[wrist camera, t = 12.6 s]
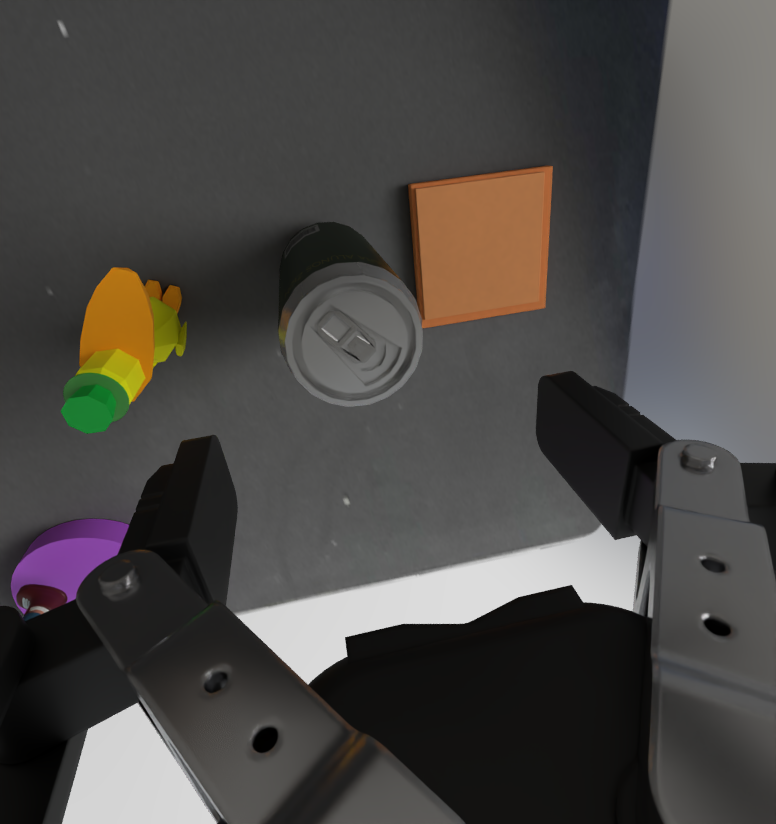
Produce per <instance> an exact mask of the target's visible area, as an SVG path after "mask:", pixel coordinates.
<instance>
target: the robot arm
mask: <svg viewBox="0 0 776 824" xmlns="http://www.w3.org/2000/svg"><path fill="white" fill-rule="evenodd" d="M536 436H537V441H538V444H539V447H540V449H541V451H542V452H543V454H544V455H545V456H546V457H547V459H548V460H549V461H550V462H551V463H552V465H553V466H554V467H555V468H556V470H557V471H558V472H559V473H560V474H561V476H562V477H563V478H564V479H565V480H566V482H567V483H568V484H569V485H570V486H571V488H572V489H573V490H574V491H575V492H576V494H577V495H578V496H579V497H580V498H581V500H582V501H583V502H584V503H585V504H586V506H587V507H588V508H589V509H590V510H591V512H592V513H593V514H594V515H595V516H596V518H597V519H598V520H599V521H600V522H601V524H602V525H603V526H604V527H605V528H606V530H607V531H608V532H609V533H610V534H611V536H612V537H613V538H614V539H615V540H617V539H621V538H626V537H630V536H634V535H637V536H638V537H639V538H640V539H641V542H640V547H639V552H638V562H637V573H636V583H635V594H634V604H633V612H632V611H629V610H626V609H622V608H619V607H614V606H610V605H604V604H596V603H583V602H582V600H581V599H580V597H579V596H578V594H577V592H576V591H575V589H574V588H573V586H572V585H570V586H566V587H561V588H557V589H553V590H548V591H544V592H539V593H535V594H531V595H526V596H522V597H518V598H516V599H514V600H512V601H510V602H508V603H506V604H504V605H502V606H500V607H499V608H497V609H495V610H493V611H491V612H489V613H487V614H485V615H483V616H481V617H479V618H477V619H475V620H474V621H471V622H469V623H465V624H401V625H397V626H393V627H388V628H384V629H379V630H375V631H371V632H367V633H362V634H358V635H354V636H349V637H345V640H346V648H347V656H348V657H346V658H344V659H342V660H340V661H338V662H337V663H335V664H333V665H332V666H330V667H329V668H328V669H326V670H324V671H323V672H322V673H321V674H320V675H318V676H317V677H316V678H315V679H314V680H312V682H310V684H309V685H307V684H306V683H305V682H304V681H303V680H302V679H301V678H300V677H299V676H298V675H297V674H296V673H295V672H294V671H293V670H292V669H291V668H290V667H289V666H288V665H287V664H286V663H285V662H283V661H282V660H281V659H280V658H279V657H278V656H277V655H276V654H275V653H274V652H273V651H272V650H271V649H270V648H269V647H268V646H267V645H266V644H265V643H263V641H262V640H261V639H259V638H258V637H257V636H256V635H255V634H254V633H253V632H252V631H251V630H250V629H249V628H248V627H247V626H246V625H245V624H244V623H243V622H242V621H241V620H240V619H238V617H237V616H236V615H235V614H233V613H232V612H231V611H230V610H229V609H228V608H227V607H226V600H227V592H228V584H229V576H230V568H231V560H232V552H233V544H234V537H235V529H236V521H237V512H238V507H237V497H236V492H235V488H234V485H233V482H232V479H231V475H230V472H229V469H228V466H227V463H226V460H225V457H224V454H223V451H222V448H221V445H220V442H219V440H218V438H217V436H215V435H211V436H206V437H200V438H195V439H189V440H184V441H182V442H181V444H180V447H179V449H178V452H177V455H176V458H175V461H174V464H168V465H163V466H161V467H160V468H159V469H158V470H157V471H156V472H155V473H154V474H153V475H152V476H151V477H150V478H149V480H148V481H147V483H146V485H145V487H144V490H143V492H142V495H141V499H140V500H139V502H138V505H137V507H136V512H135V513H134V515H133V517H132V520H131V522H130V525H129V527H128V530H127V532H126V535H125V537H124V539H123V542H122V544H121V547H120V549H119V552H118V554H117V555H116V556H114V557H112V558H110V559H108V560H106V561H104V562H103V563H101V564H100V565H98V566H97V567H96V568H95V569H93V570H92V571H91V572H90V573H89V574H88V575H87V576H86V577H85V579H84V580H83V581H82V583H81V584H80V586H79V588H78V590H77V593H76V599H74V600H72V601H70V602H68V603H66V604H64V605H61V606H59V607H57V608H54V609H52V610H50V611H47V612H45V613H43V614H40V615H38V616H36V617H34V618H31V619H29V620H27V621H24V619H23V618H22V617H21V615H20V614H19V612H18V611H17V610H16V609H14V608H12V607H9V606H0V824H62V821H63V817H64V813H65V810H66V806H67V803H68V799H69V796H70V792H71V788H72V785H73V781H74V778H75V774H76V770H77V767H78V763H79V759H80V756H81V751H82V748H83V745H84V741H85V738H86V734H87V730H88V728H91V727H92V726H94V725H96V724H98V723H100V722H102V721H104V720H106V719H107V718H109V717H111V716H113V715H115V714H117V713H119V712H121V711H122V710H124V709H126V708H128V707H130V706H132V705H134V704H136V703H138V704H139V706H140V707H141V709H142V710H143V712H144V713H145V715H146V716H147V718H148V719H149V721H150V722H151V724H152V725H153V727H154V728H155V730H156V731H157V733H158V734H159V736H160V737H161V739H162V740H163V742H164V743H165V745H166V746H167V748H168V749H169V751H170V752H171V754H172V755H173V757H174V758H175V760H176V761H177V763H178V764H179V766H180V767H181V769H182V770H183V772H184V773H185V775H186V777H187V778H188V780H189V781H190V783H191V784H192V786H193V787H194V789H195V791H196V792H197V794H198V795H199V797H200V798H201V800H202V801H203V803H204V805H205V806H206V808H207V809H208V811H209V812H210V814H211V815H212V817H213V818H214V820H215V821H216V823H217V824H776V463H740V462H739V461H738V459H737V458H736V457H735V456H734V455H733V454H731V453H730V452H729V451H727V450H725V449H724V448H721V447H719V446H716V445H714V444H711V443H707V442H703V441H696V440H675V439H674V438H673V437H672V436H670V435H669V434H668V433H666V432H665V431H664V430H662V429H661V428H660V427H658V426H657V425H656V424H654V423H653V422H652V421H650V420H649V419H648V418H647V417H645V416H644V415H640V412H639V411H637V410H636V409H634V408H633V407H632V406H629V404H628V403H627V402H625V401H624V400H623V399H622V398H620V397H619V396H618V395H616V394H615V393H612V392H610V391H607V390H605V389H602V388H599V387H597V386H591V385H590V384H589V383H587V382H586V381H585V380H584V379H582V378H581V377H580V376H579V375H577V374H576V373H575V372H573V371H568V372H563V373H557V374H552V375H546V376H542V377H541V378H540V380H539V384H538V399H537V419H536Z"/></svg>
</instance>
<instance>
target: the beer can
mask: <svg viewBox="0 0 776 824" xmlns="http://www.w3.org/2000/svg"><path fill="white" fill-rule="evenodd" d="M278 332H279V340H280V348H281V353H282V355H283V357H284V359H285V361H286V363H287V365H288V367H289V369H290V371H291V372H292V373H293V374H294V375H295V377H296V379H297V380H298V381H299V382H300V383H301V384H302V386H303V387H304V388H305V389H306V390H307V391H308V392H309V393H310V394H312V395H314V396H316V397H318V398H320V399H322V400H324V401H326V402H328V403H331V404H336V405H342V406H347V407H352V406H361V405H370V404H372V403H375V402H377V401H380V400H382V399H385V398H387V397H389V396H390V395H391V394H393V393H394V392H395V391H397V390H398V389H399V388H400V387H402V386H403V385H404V384H405V383H406V381H407V380H408V379H409V377H410V376H411V374H412V373H413V372H414V370H415V369H416V366H417V363H418V360H419V358H420V355H421V352H422V334H423V329H422V318H421V315H420V312H419V309H418V305H417V302H416V299H415V298H414V296H413V295H412V294H411V292H410V291H409V290H408V288H407V287H406V286H405V284H404V283H403V282H402V280H401V279H400V278H399V277H398V276H397V275H396V273H395V272H394V271H393V270H392V269H391V268H390V267H389V265H388V264H387V263H386V262H385V261H384V260H383V259H382V257H381V256H380V255H379V254H378V253H377V252H376V251H375V250H374V248H373V247H372V246H371V245H370V244H369V243H368V242H367V240H366V239H365V238H364V237H363V236H362V235H361V234H359V233H358V232H356V231H355V230H354V229H352V228H351V227H349V226H346V225H342V224H339V223H335V222H324V223H316V224H314V225H311V226H309V227H306V228H304V229H302V230H301V231H300V232H299V233H297V234H296V235H295V236H294V237H293V238H292V239H291V240H290V242H289V243H288V245H287V247H286V249H285V250H284V252H283V255H282V260H281V265H280V279H279V320H278Z"/></svg>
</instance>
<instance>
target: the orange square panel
mask: <svg viewBox="0 0 776 824" xmlns="http://www.w3.org/2000/svg"><path fill="white" fill-rule="evenodd" d="M552 169H553V167H552V166H541V167H534V168H526V169H519V170H511V171H504V172H496V173H488V174H481V175H473V176H466V177H458V178H451V179H443V180H436V181H428V182H421V183H413V184H408V190H409V203H410V216H411V229H412V242H413V255H414V268H415V281H416V294H417V305H418V309H419V312H420V315H421V318H422V328H428V327H434V326H440V325H446V324H452V323H458V322H464V321H470V320H476V319H482V318H488V317H494V316H500V315H506V314H512V313H518V312H524V311H530V310H536V309H542V308H545V302H546V283H547V264H548V245H549V226H550V207H551V188H552Z"/></svg>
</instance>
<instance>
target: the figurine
mask: <svg viewBox="0 0 776 824" xmlns="http://www.w3.org/2000/svg"><path fill="white" fill-rule="evenodd" d="M128 527H129V525H128V524H125V523H122V522H118V521H112V520H107V519H82V520H74V521H70V522H66V523H62V524H59V525H57V526H55V527H53V528H50V529H48V530H47V531H45V532H44V533H42V534H41V535H40V536H38V537H37V538H36V539H35V540H34V542H33V543H32V544H31V545H30V546H29V548H28V550H27V551H26V553H25V554H24V556H23V557H22V559H21V561H20V562H19V564H18V565H17V567H16V569H15V571H14V573H13V575H12V581H11V590H12V596H13V598H14V600H15V603H16V605H17V606H18V608H19V609H20V610H21V611H22V612H23V614H24V617H23V619H24V621H27V620H29V619H31V618H34V617H36V616H38V615H40V614H43V613H45V612H47V611H50V610H52V609H54V608H57V607H59V606H61V605H64V604H66V603H68V602H70V601H72V600H74V599H76V593H77V590H78V588H79V586H80V584H81V583H82V581H83V580H84V579H85V577H86V576H87V575H88V574H89V573H90V572H91V571H92V570H93V569H95V568H96V567H97V566H98V565H100V564H101V563H103V562H104V561H106V560H108V559H110V558H112V557H114V556H116V555H117V554H118V552H119V549H120V547H121V544H122V542H123V539H124V537H125V535H126V532H127V530H128Z"/></svg>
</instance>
